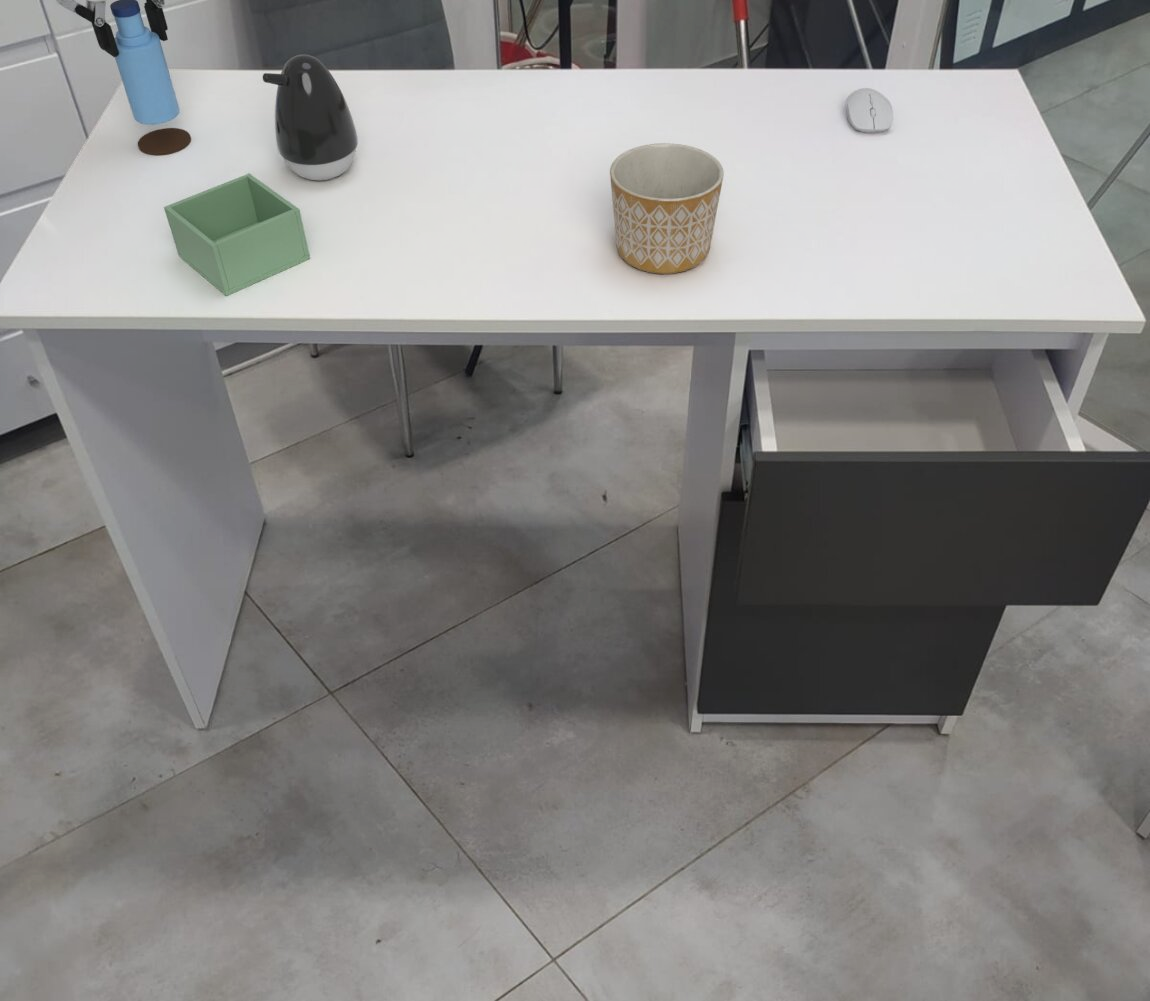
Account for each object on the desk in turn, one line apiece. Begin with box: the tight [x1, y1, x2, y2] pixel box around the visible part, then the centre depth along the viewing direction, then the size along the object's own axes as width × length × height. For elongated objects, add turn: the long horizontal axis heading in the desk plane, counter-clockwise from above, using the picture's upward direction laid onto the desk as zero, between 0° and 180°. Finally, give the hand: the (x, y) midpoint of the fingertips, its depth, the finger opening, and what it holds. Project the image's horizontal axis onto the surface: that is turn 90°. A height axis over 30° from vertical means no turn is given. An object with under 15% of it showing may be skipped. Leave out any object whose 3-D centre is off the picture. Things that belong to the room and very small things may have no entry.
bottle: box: [109, 0, 181, 126], centre depth 144 cm, size 6×6×14 cm
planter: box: [609, 142, 725, 275], centre depth 128 cm, size 13×13×10 cm
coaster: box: [137, 127, 192, 156], centre depth 152 cm, size 7×7×1 cm
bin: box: [163, 173, 311, 297], centre depth 129 cm, size 11×11×7 cm
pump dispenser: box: [262, 54, 359, 181], centre depth 140 cm, size 10×10×15 cm
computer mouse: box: [845, 87, 894, 134], centre depth 153 cm, size 6×10×3 cm, turn 179°
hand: (135, 44), depth 142 cm, fingers closed on bottle, 6 cm apart
